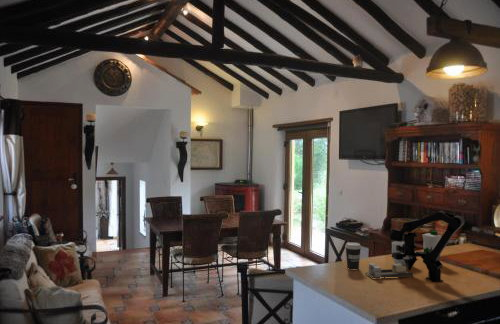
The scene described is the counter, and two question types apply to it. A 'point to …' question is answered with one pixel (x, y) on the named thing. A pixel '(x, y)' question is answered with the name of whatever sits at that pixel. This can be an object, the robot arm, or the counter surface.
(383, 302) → the counter surface
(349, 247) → the coffee cup
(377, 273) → the track
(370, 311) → the counter surface
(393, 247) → the mug
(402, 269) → the block
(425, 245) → the milk carton
